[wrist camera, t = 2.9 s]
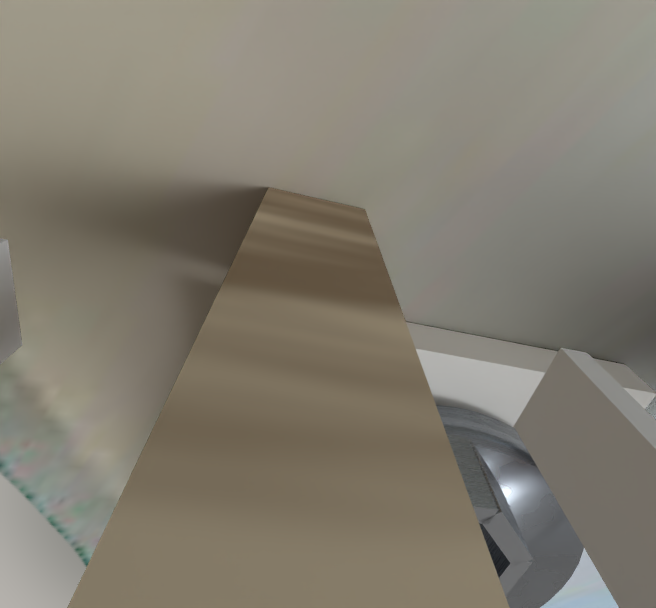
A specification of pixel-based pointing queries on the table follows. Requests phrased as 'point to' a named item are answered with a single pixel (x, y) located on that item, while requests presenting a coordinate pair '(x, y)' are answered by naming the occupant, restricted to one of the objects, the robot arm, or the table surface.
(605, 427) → the robot arm
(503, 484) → the dial
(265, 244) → the stick
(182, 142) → the table surface
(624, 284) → the table surface
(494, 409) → the plate
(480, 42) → the table surface
